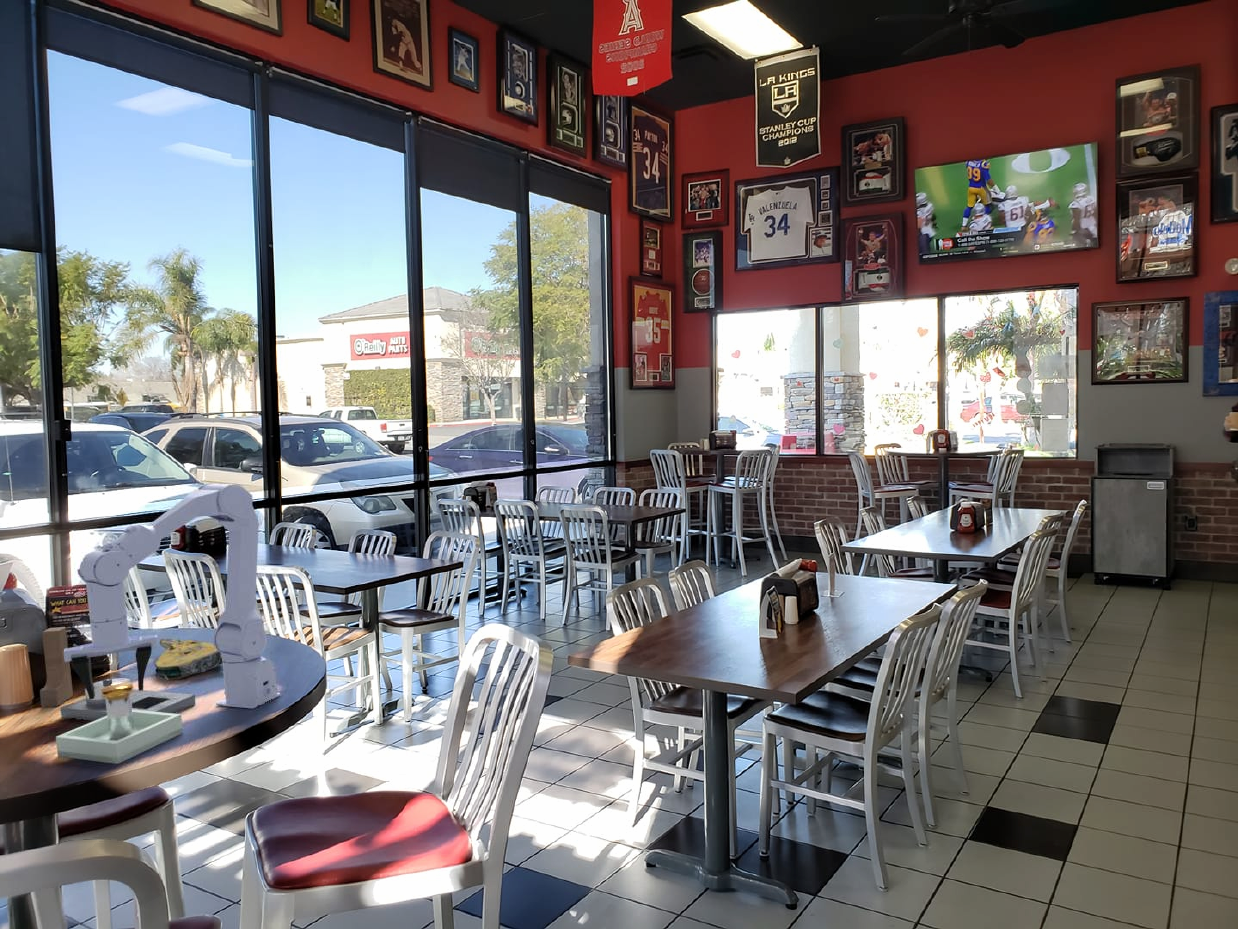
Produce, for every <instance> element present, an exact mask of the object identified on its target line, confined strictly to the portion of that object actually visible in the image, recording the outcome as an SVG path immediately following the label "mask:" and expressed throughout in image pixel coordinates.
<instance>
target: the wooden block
mask: <svg viewBox="0 0 1238 929" xmlns="http://www.w3.org/2000/svg"><path fill="white" fill-rule="evenodd" d="M41 633H42V634H41V635H42V642H43V643H42V644H43V653H44V661H45V671H46V672H45V673H46V680H45V681H46V683H45V685H44V687H43V688H41V689H40V690H39V696H40V697H39V698H40V706H42V707H46V708H51V707H50V706H58V705H59V706H61V705H62V704H63V703H65V702H66V701H68V700H70V699H71V698H72V697H73V696H74V691H73V684H72V683H73V682H72V674H71V666H70V664H71V663H70V662H71V661H68V662H65V660H64V649H66V648H69V647H68V636H67V628H66V627H65V626H60V627H49V628H48V629H46V630H43V631H42V632H41ZM67 699H68V700H67ZM59 706H58V707H59ZM42 707H41V708H42Z"/></svg>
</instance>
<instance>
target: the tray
mask: <svg viewBox="0 0 1238 929" xmlns="http://www.w3.org/2000/svg"><path fill="white" fill-rule="evenodd" d="M132 711H133V721H134V731H135V733H133V734H131V735H129V736H127V737H124V738H122V739H120V740H110V737H109V728H108V718H107V716H105V717H103V718H100V719H98V720H95V721H91V722H88V723H86V724H83V725H82V726H79V727H76V728H74V729H72V730H69V731H66V732H64V733H62V734H60V735H57V736H55V742H56V751H57V757H60V758H61V757H62V758H68V759H69V758H70V759H76V760H83V761H85V760H86V761H92V762H101V763H109V764H114V765H115V764H117V765H118V764H121V763H122V762H123V763H124V762H125V761H127V760H130V759H131V758H133V757H135V756H137V755H139V754H142V753H144V752H145V751H148V750H150V749H151V748H154V747H156V746H159V745H160V744H163V743H165V742H166V741H169V740H171V739H173V738H175V737H177V736H180V735H182V734H184V728H183V721H182V720H183V718H182V714H181V713H175V714H173V713H163V712H152V711H142V710H132Z"/></svg>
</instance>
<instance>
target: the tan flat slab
mask: <svg viewBox="0 0 1238 929" xmlns="http://www.w3.org/2000/svg"><path fill="white" fill-rule="evenodd" d="M159 646H161V647H162V648H164V649H165V650H164V651H163V652H162V653H161V655H160V656H159V657H158V658H157V659H156V660H155V662H154V666H155V667H156V668H155V673H156V675H157V676H158V675H159V677H158V678H159V679H162V680H166V681H169V680H180V679H184V678H185V677H188V676H192V675H195V674H198V673H206V672H208V671H209V670H211V669H213V668H214V669H215V668H216V667H217V666H219V665H220V666H221V665H223V663H222V658H221V652H219V651H218V650H216V648H215V647H214V644H213V643H211V642H205V641H200V640H195V639H186V640H181V639H179V638H178V639H177V638H161V639H160V640H159Z"/></svg>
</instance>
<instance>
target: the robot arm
mask: <svg viewBox="0 0 1238 929" xmlns="http://www.w3.org/2000/svg"><path fill="white" fill-rule="evenodd" d="M199 517H208V518H211V519H214V520H215V521H217V522H218V523H219V524H221V526H222V527H224V528H225V529H226V530H227V531H228V547H227V549H228V550H227V569H226V570H227V573H226V576H227V577H226V595H225V596H226V597H225V598H226V599H225V610H224V611H223V612H222V613H221V614H220V615H219V617H217V618H218V619H217V620H218V621H217V622H218V623H217V626H216V629H215V631H214V632H213V638H212V642H213V643H212V644H214V647H215V648H216V650H218V651H219V652H221V658H222V670H223V671H222V672H223V682H224V694H225V698H224V699H221V700H219V701H217V702H215V705H216V706H219V705H222V706H221V707H230V708H231V707H233V708H244V709H255V708H257V706H258V705H260V706H261V705H264V704H266V703H268V702H270V701H272V700H274V699H276V698H278V697H280V696H281V693H280V692H278V687H277V686H278V685H277V677H276V676H277V675H276V667H275V664H274V662H273V661H272V660H270V659H269V658H265V657H263V652H265V650H266V647H267V645H268V644H267V643H268V637H267V636H268V635H267V633H266V631H265V626H264V618H262V616H261V615H260V613H259V612H258V611H257V610H256V600H257V599H256V596H257V577H258V576H257V572H258V550H259V549H258V548H259V525H260V524H259V518H258V516H257V513H256V511H255V508H254V506H253V495H252V494H251V493H250V492H249V491H248V490H247V489H246V488H245V487H243V486H242V485H240V484H238V483H233V484H218V483H209V482H207V483H204V484H201V485H200V486H199V487H198V488H197V489H193V490H192V491H190V492H189V493H188V494H187V495H186V496H185V497H184V498H183V499H182V500H180V501H178V503H176V504H175V505H173V506H172V507H171V508H169V509H168V510H167V511H165V512H164V513H163V514H162V515H160V516H159V517H157V518H156V519H154V521H152V522H151V523H150V524H149V525H146V524H137V525H129V526H127V527H126V528H125V533H123V534H122V535H120V536H119V537H117V538H116V539H115V540H113V541H111V542H106V543H104V544H103V545H102V547H103V548H102V550H97V551H96V550H94V551H91V552H89V553H87V554H86V555H85V556H84V557H83V558H82V561H80V565H79V568H78V569H77V570H76V571H77V575H78V577H79V578H80V579H81V580H82V581H83V582H84V583H85V584H86V586H85V587H86V594H87V605H88V612H89V615H88V616H89V621H90V623H89V624H90V632H91V639H92V640H91V643H86V644H83V645H82V644H81V645H77V646H73V647H68V648H66V649H64V660H65V662H68V661H69V662H71V663H72V664H71V667H72V669H73V670H74V671H75V673H76V674H77V676H78V677H79V678H80V680H81V682H82V683H83V685H84V687H85V688H86V690H87V692H88V695H89V699H94V697H95V691H94V685H93V683H94V682H93V675H92V662H91V661H92V660H91V658H92V657H100V656H106V655H112V654H118V653H125V652H132V651H135V660H136V661H135V662H136V667H137V686H138V689H137V690H139V691H141V690H144V681H145V680H144V679H145V675H146V670H147V666H148V663H149V661H150V658H151V654H152V650H153V649H156V648H158V647H159V640H158V639H159V638H158V634H153V635H152V634H151V635H144V636H130V631H129V622H128V614H127V603H126V597H125V596H126V594H125V586H124V581H125V580H126V579H127V577H128V576H129V572H130V570H131V569H133V568H134V567H135V566H137V565H138V564H140V563H141V562H143V561H144V560H145V559H147V558H148V557H150V556H151V555H153V554H154V553H156V552H157V551H158V550H160V546H161V540H162V539H164V538H166V537H167V536H169V535H170V534H172V533H173V532H175V531H176V530H178V529H180V528H182V527H183V526H185V525H186V524H188V523H190V522H191V521H192V520H194V519H195V518H199ZM279 695H280V696H279ZM271 699H272V700H271ZM269 700H270V701H269ZM267 701H268V702H267ZM265 702H266V703H265ZM258 707H259V706H258Z"/></svg>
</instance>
